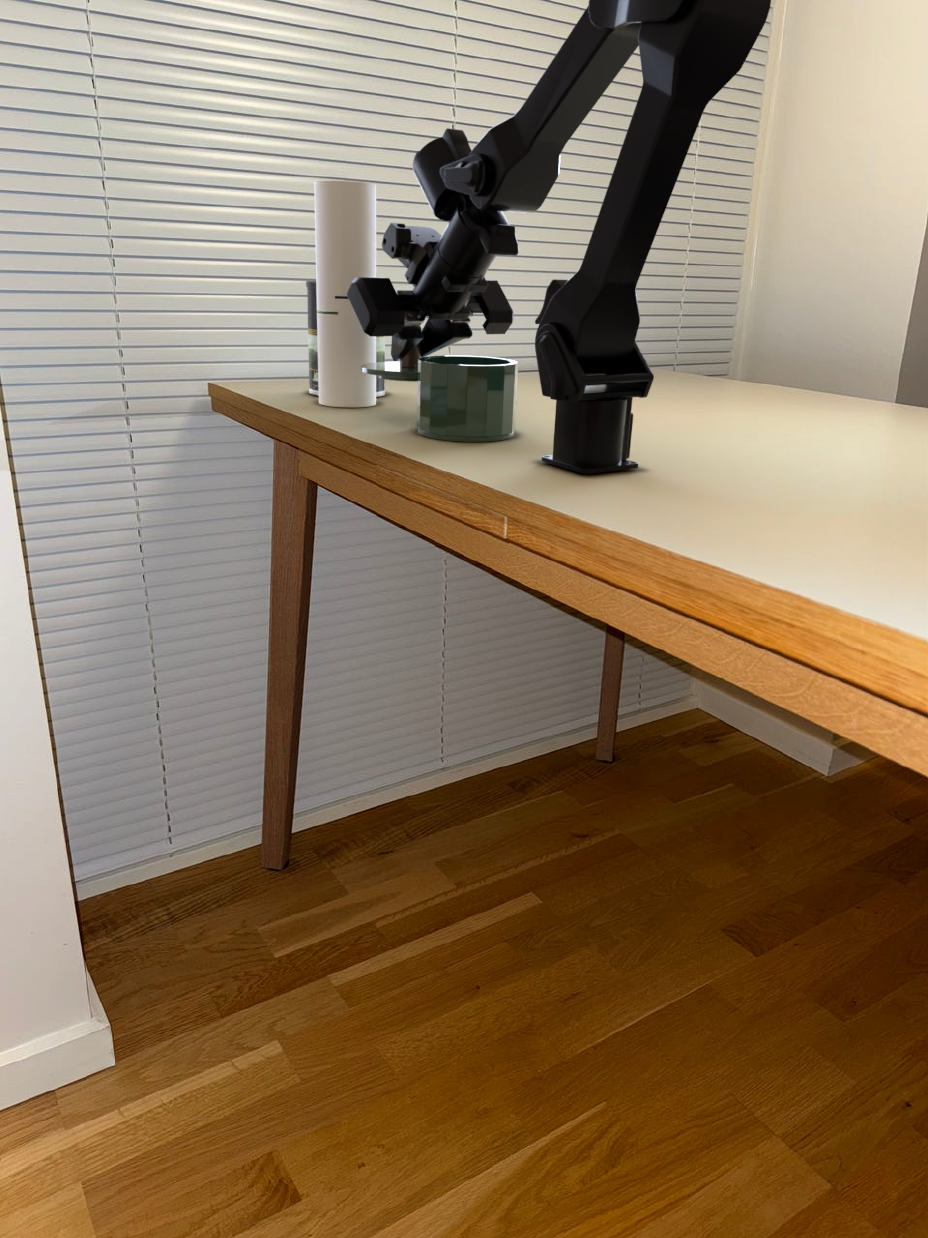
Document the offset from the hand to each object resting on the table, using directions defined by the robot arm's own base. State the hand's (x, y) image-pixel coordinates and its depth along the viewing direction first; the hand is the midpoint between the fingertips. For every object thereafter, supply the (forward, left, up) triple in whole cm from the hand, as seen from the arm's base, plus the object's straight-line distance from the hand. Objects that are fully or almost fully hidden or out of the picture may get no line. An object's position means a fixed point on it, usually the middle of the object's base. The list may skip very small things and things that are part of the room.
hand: (403, 357), depth 107 cm
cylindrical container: (-2, +11, -7) cm, 13 cm away
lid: (0, -1, -1) cm, 2 cm away
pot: (0, -13, -6) cm, 15 cm away
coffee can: (+2, +19, -7) cm, 20 cm away
